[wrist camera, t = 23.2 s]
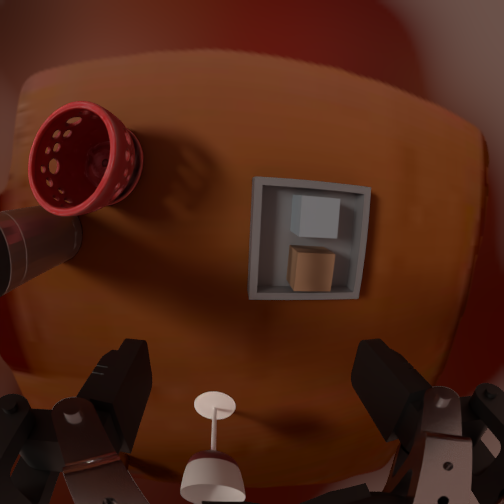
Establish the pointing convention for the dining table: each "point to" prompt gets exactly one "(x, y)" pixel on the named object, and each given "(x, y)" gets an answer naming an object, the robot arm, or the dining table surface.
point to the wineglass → (213, 459)
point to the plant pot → (84, 160)
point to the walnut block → (310, 268)
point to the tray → (304, 238)
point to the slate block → (315, 216)
